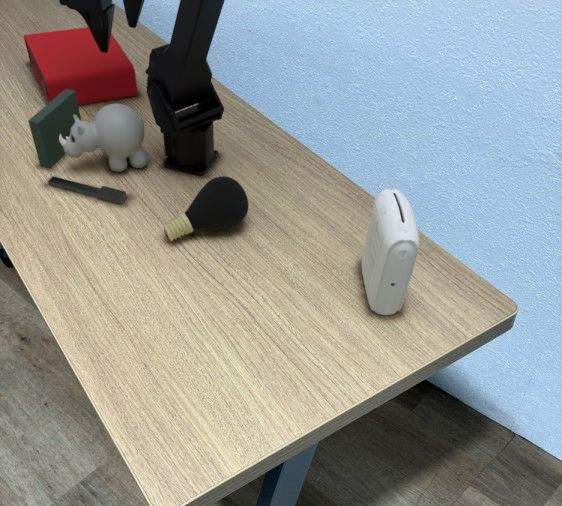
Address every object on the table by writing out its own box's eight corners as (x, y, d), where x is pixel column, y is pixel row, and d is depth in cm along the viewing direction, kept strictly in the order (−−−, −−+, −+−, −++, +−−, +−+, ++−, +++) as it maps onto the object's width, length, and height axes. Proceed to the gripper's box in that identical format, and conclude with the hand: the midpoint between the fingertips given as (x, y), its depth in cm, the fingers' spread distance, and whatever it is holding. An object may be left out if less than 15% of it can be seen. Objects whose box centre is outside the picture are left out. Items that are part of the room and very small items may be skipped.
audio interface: (30, 63, 110) (22, 33, 106) (109, 52, 114) (104, 23, 110) (53, 111, 100) (45, 80, 96) (138, 97, 104) (134, 67, 100)
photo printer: (403, 316, 75) (428, 235, 65) (369, 316, 74) (389, 234, 65) (389, 261, 81) (410, 179, 72) (357, 260, 81) (374, 178, 71)
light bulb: (156, 210, 76) (240, 167, 78) (148, 209, 82) (226, 169, 84) (182, 259, 78) (262, 216, 80) (172, 254, 84) (247, 214, 87)
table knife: (127, 197, 86) (126, 191, 86) (121, 204, 85) (120, 198, 85) (54, 179, 88) (53, 172, 87) (47, 185, 87) (46, 179, 86)
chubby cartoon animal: (62, 156, 92) (49, 101, 85) (142, 145, 95) (135, 91, 88) (70, 184, 88) (56, 127, 81) (153, 171, 91) (146, 116, 84)
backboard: (84, 135, 96) (75, 90, 90) (50, 168, 90) (38, 122, 84) (75, 132, 96) (65, 88, 91) (40, 165, 90) (27, 120, 85)
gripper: (80, -117, 85) (98, 6, 97) (4, -80, 74) (35, 54, 86) (154, -104, 84) (164, 19, 96) (88, -64, 72) (108, 70, 84)
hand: (118, 39), depth 91 cm, fingers open, 9 cm apart
